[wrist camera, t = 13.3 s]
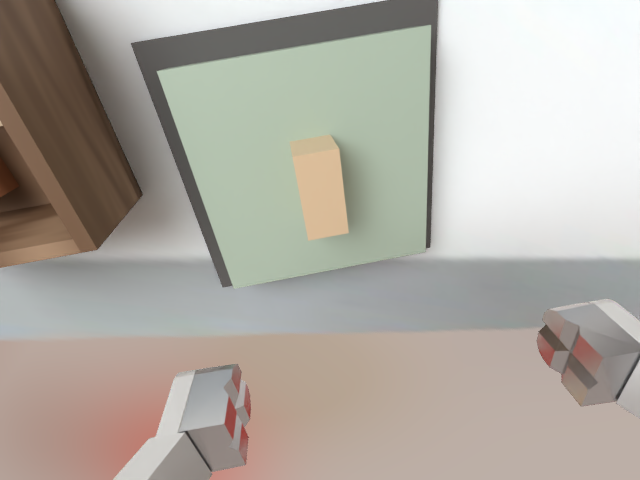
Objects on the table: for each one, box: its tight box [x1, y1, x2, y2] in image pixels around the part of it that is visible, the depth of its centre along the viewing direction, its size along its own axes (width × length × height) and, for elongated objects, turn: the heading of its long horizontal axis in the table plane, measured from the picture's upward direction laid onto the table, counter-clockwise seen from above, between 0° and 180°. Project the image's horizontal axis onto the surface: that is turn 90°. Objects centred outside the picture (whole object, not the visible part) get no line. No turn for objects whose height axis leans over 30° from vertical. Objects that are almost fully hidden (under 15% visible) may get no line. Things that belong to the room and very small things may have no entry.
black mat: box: [131, 0, 438, 287], centre depth 23 cm, size 17×17×1 cm
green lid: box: [157, 25, 431, 289], centre depth 21 cm, size 14×14×5 cm
